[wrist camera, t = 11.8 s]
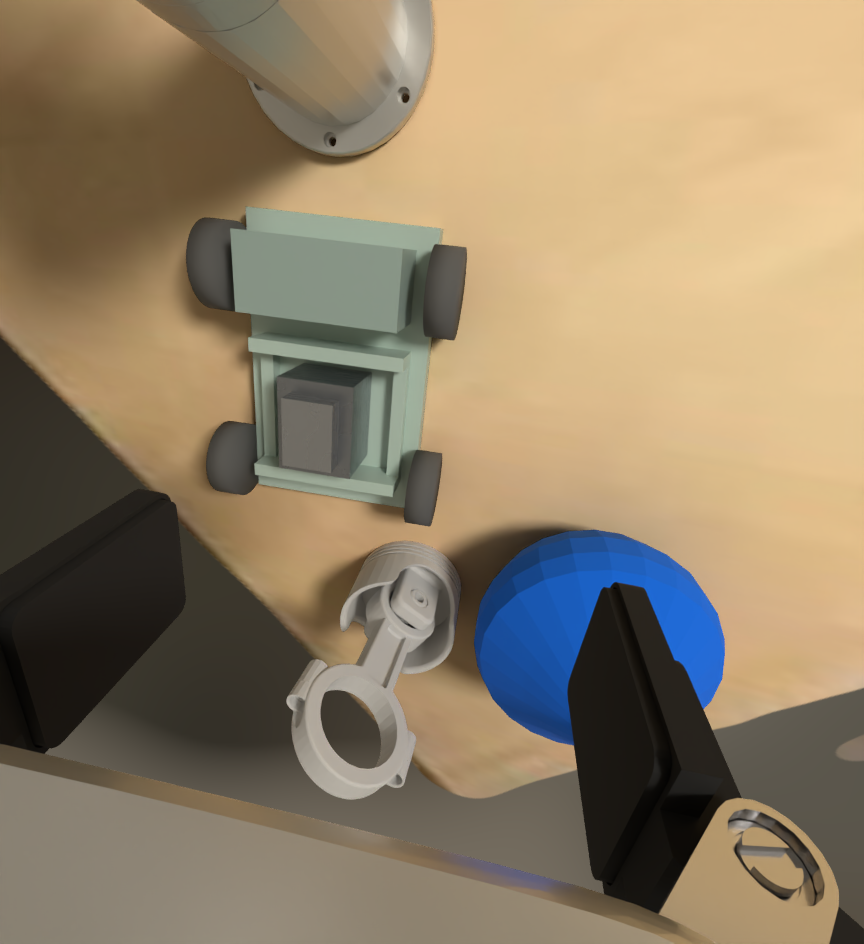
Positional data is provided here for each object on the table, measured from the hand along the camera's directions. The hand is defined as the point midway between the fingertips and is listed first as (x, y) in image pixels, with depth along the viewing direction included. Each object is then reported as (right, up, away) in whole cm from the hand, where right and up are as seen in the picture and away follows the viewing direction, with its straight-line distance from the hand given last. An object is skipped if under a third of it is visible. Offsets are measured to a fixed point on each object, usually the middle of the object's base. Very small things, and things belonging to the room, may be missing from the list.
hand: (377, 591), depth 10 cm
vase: (+15, -8, +34) cm, 38 cm away
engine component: (-1, -8, +37) cm, 38 cm away
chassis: (-6, +11, +29) cm, 32 cm away
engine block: (-7, +8, +29) cm, 31 cm away
